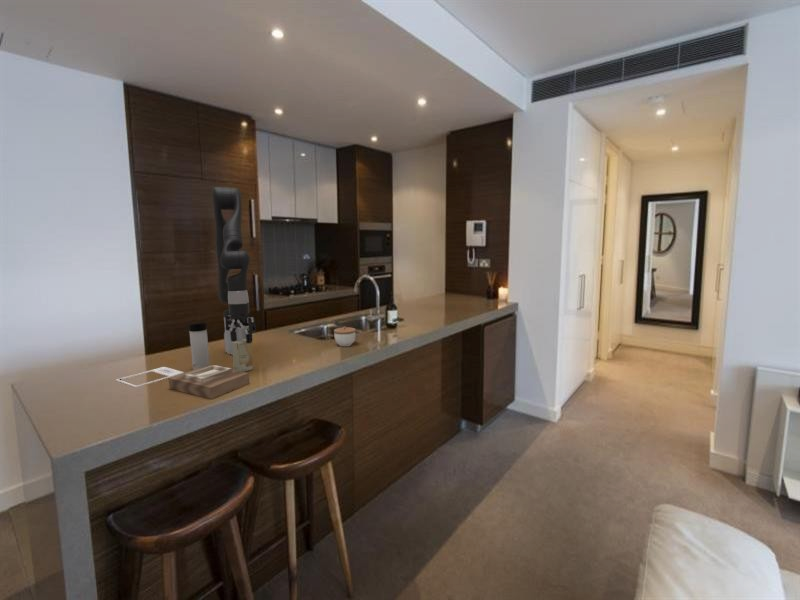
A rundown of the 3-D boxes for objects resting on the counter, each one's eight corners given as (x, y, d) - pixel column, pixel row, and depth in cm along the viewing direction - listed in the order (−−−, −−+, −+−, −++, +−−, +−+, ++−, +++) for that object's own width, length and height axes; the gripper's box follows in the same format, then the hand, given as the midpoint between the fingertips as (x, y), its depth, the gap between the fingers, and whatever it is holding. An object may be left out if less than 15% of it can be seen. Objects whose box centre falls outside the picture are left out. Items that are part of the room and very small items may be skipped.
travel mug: (193, 373, 159) (188, 324, 156) (193, 369, 165) (188, 321, 162) (210, 371, 162) (206, 322, 159) (209, 366, 168) (205, 319, 165)
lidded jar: (354, 347, 194) (353, 328, 193) (332, 347, 195) (331, 328, 193) (357, 342, 205) (356, 324, 204) (336, 342, 205) (335, 324, 204)
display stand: (169, 388, 143) (168, 374, 142) (208, 375, 157) (207, 361, 156) (211, 399, 133) (210, 383, 132) (249, 383, 147) (248, 369, 147)
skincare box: (240, 373, 159) (238, 343, 157) (233, 371, 161) (230, 342, 159) (253, 368, 164) (251, 339, 162) (246, 367, 166) (244, 338, 164)
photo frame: (184, 371, 160) (135, 386, 145) (184, 374, 160) (135, 389, 145) (163, 366, 167) (115, 379, 152) (164, 368, 168) (115, 382, 152)
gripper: (218, 302, 158) (221, 342, 160) (244, 304, 152) (247, 345, 154) (233, 299, 165) (236, 338, 167) (259, 301, 158) (261, 341, 161)
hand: (241, 342), depth 161 cm, fingers open, 8 cm apart
